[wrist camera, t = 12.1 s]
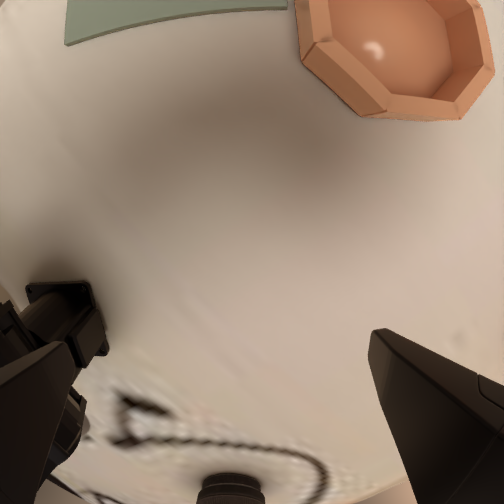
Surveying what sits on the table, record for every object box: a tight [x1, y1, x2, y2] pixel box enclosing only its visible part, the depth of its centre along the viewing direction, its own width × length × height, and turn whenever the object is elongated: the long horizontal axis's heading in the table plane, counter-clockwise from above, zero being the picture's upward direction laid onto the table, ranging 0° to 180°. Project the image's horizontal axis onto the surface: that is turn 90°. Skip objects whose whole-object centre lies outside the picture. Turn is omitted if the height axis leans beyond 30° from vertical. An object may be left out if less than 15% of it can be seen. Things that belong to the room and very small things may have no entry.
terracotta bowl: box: [294, 0, 495, 122], centre depth 14 cm, size 12×12×4 cm
